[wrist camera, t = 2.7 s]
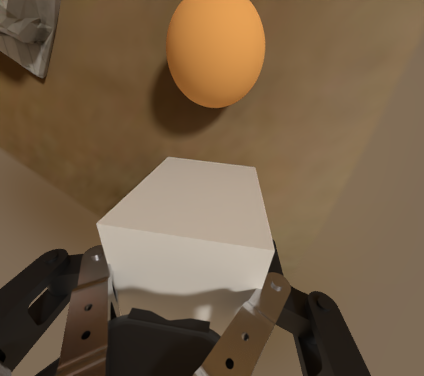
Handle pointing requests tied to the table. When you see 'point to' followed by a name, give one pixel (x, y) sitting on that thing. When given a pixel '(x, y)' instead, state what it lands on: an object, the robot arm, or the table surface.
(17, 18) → the packaged product
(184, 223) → the white foam cube
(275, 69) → the table surface
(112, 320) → the robot arm
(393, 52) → the table surface
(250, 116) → the table surface
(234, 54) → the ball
